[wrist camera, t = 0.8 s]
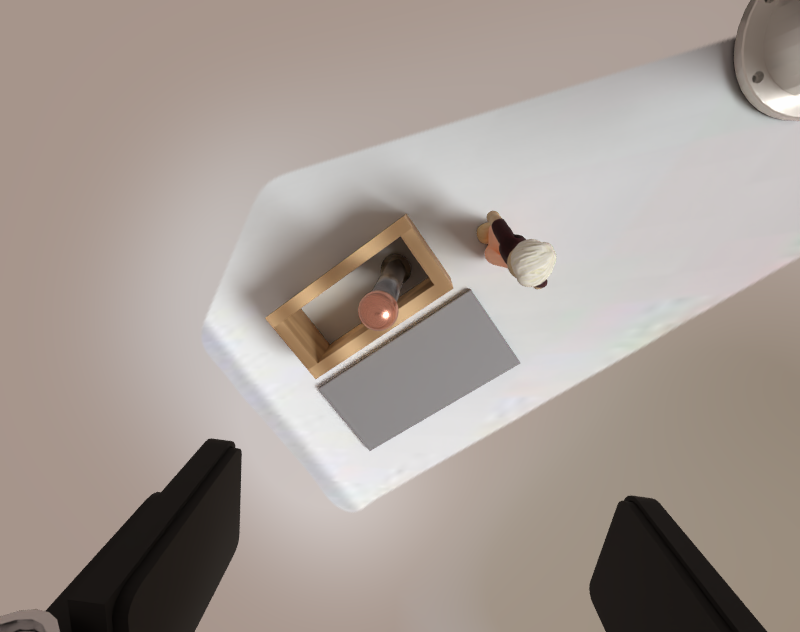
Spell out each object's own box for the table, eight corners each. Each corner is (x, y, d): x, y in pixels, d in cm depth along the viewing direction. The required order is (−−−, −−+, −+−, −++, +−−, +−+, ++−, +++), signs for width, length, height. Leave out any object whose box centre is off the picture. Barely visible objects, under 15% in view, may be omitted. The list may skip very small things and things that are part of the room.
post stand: (399, 248, 38) (380, 283, 23) (416, 272, 39) (410, 322, 24) (375, 265, 39) (341, 310, 24) (392, 289, 40) (371, 348, 24)
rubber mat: (470, 289, 39) (470, 290, 39) (519, 361, 41) (520, 363, 41) (319, 387, 44) (318, 389, 43) (370, 448, 46) (369, 451, 45)
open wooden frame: (406, 213, 37) (403, 216, 33) (450, 277, 39) (453, 288, 34) (283, 304, 41) (265, 318, 36) (328, 358, 43) (315, 379, 38)
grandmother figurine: (458, 234, 38) (473, 252, 26) (486, 203, 37) (515, 206, 25) (514, 285, 39) (554, 325, 27) (543, 256, 38) (597, 284, 26)
